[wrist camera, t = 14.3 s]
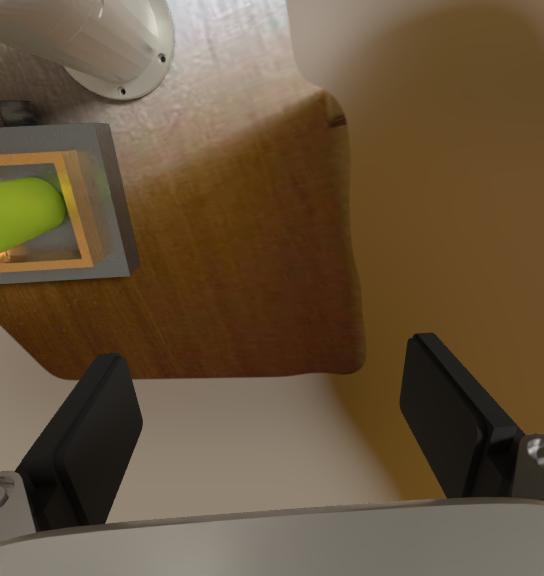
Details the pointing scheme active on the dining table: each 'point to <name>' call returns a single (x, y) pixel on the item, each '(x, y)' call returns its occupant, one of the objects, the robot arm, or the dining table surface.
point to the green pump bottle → (28, 210)
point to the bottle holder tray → (68, 199)
